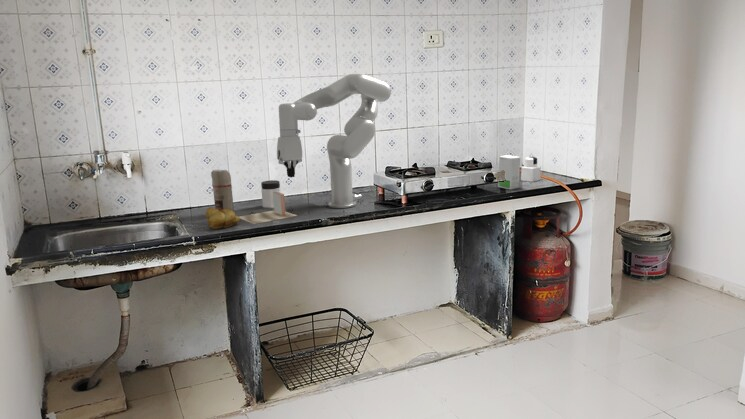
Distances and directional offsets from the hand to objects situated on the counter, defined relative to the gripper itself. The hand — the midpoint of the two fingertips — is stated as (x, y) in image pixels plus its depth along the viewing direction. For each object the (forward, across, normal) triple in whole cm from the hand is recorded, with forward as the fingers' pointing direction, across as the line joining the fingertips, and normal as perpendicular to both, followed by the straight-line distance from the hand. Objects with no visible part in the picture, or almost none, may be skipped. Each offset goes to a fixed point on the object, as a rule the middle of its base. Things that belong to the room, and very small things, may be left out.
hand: (291, 176), depth 262 cm
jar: (+16, +1, -17) cm, 24 cm away
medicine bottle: (+14, -128, +22) cm, 130 cm away
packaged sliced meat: (+16, +12, 0) cm, 21 cm away
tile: (+15, +6, 0) cm, 16 cm away
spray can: (+17, +22, -21) cm, 35 cm away
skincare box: (+15, -106, +27) cm, 110 cm away
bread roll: (+17, +31, -1) cm, 35 cm away
